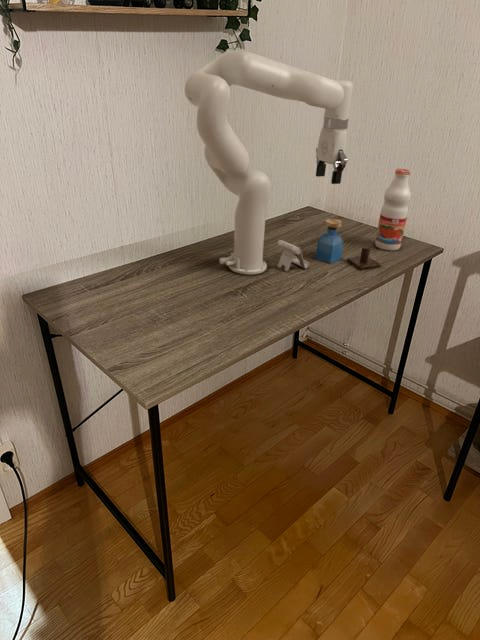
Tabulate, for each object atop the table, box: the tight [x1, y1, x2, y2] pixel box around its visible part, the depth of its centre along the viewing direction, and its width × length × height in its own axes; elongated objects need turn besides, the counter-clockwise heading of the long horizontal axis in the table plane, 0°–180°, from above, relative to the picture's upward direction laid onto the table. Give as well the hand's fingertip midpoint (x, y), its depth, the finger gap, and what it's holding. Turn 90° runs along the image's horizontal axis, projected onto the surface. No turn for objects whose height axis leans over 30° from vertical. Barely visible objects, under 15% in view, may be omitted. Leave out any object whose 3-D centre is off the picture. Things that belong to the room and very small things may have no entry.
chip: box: [325, 218, 343, 229], centre depth 165 cm, size 5×5×1 cm
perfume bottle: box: [315, 226, 344, 264], centre depth 168 cm, size 6×6×12 cm
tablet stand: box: [277, 239, 310, 272], centre depth 162 cm, size 9×8×8 cm
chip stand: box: [346, 245, 381, 271], centre depth 167 cm, size 8×8×6 cm
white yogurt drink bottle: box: [374, 168, 412, 251], centre depth 177 cm, size 9×9×28 cm
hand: (327, 179), depth 161 cm, fingers open, 9 cm apart
